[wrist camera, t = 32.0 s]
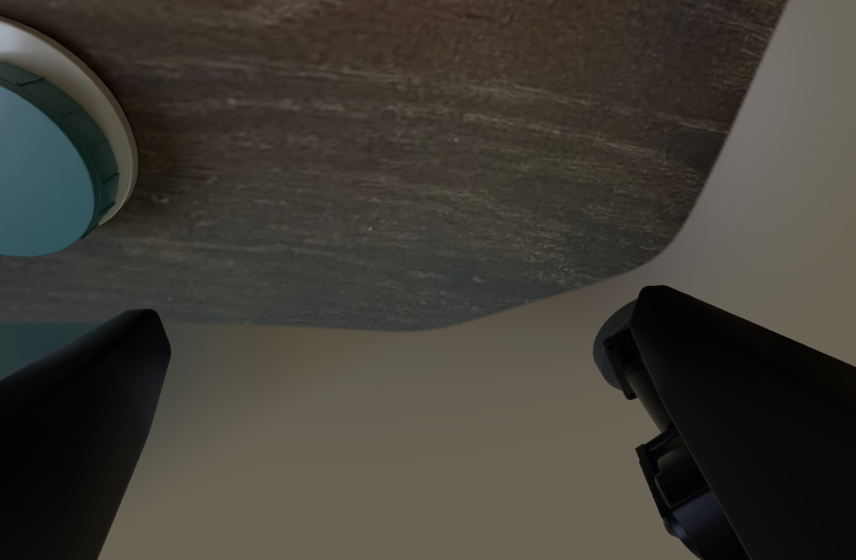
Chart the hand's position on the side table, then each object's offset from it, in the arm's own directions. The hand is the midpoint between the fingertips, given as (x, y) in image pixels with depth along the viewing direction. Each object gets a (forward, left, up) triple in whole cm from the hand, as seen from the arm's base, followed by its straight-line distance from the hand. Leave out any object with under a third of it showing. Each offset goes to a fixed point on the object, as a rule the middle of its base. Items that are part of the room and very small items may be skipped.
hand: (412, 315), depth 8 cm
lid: (+7, +12, -10) cm, 17 cm away
